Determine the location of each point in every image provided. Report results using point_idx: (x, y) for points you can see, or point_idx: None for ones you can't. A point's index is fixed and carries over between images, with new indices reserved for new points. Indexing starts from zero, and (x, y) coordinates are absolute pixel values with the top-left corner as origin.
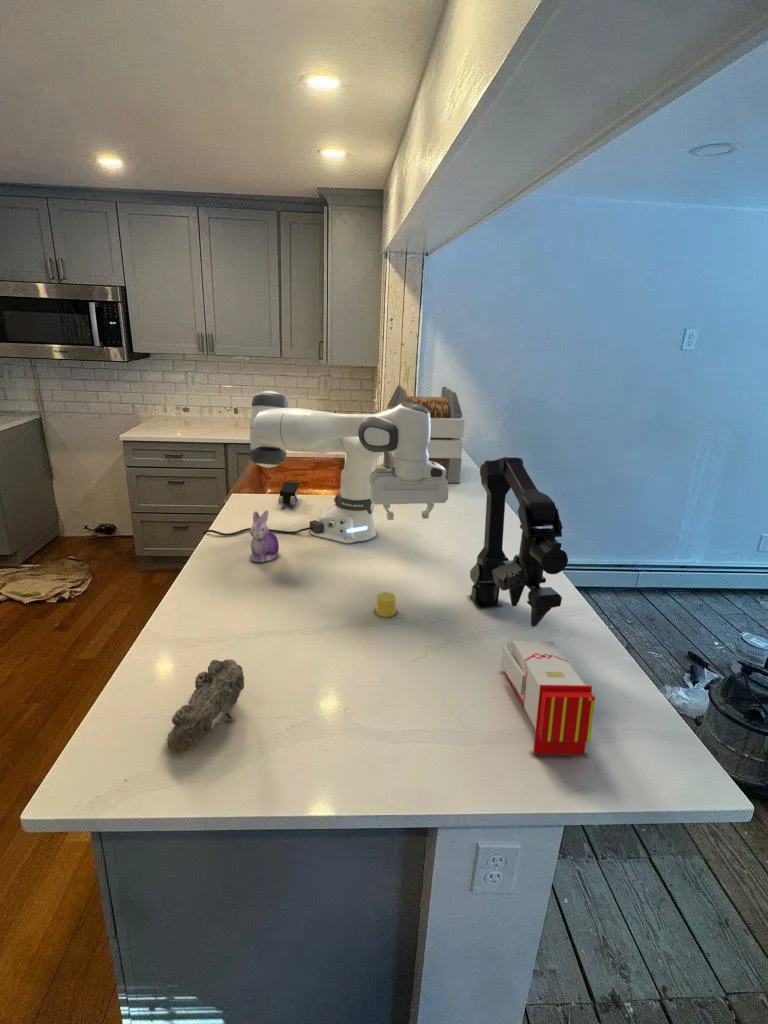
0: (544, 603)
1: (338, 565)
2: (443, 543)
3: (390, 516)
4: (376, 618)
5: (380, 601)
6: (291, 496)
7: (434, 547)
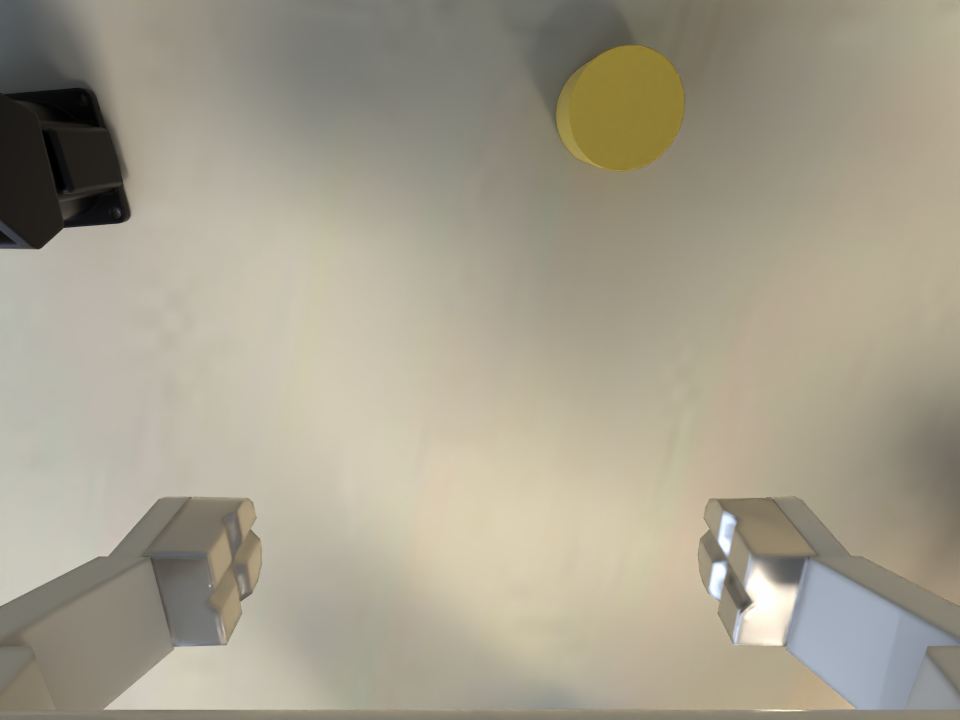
0: None
1: None
2: None
3: (790, 525)
4: (672, 47)
5: (672, 68)
6: None
7: (239, 687)
